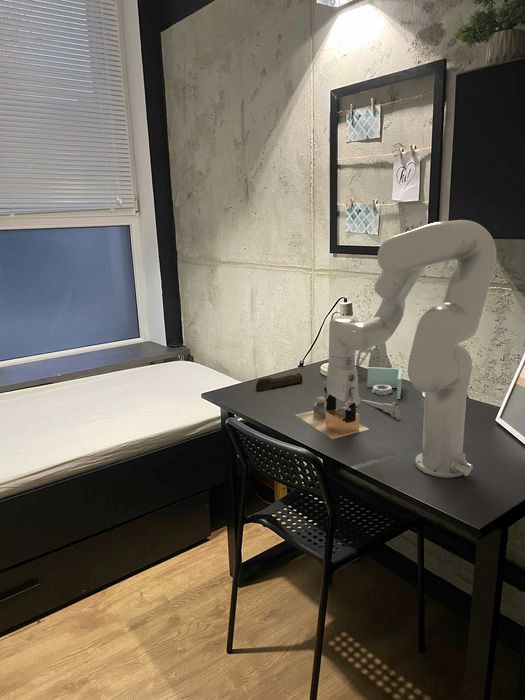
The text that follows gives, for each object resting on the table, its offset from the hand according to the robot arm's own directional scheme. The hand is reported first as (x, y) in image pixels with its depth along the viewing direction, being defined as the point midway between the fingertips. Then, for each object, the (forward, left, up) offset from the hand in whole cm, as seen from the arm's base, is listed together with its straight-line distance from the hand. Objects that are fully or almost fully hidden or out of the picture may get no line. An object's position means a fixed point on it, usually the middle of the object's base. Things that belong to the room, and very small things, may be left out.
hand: (340, 415), depth 151 cm
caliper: (+6, -19, -5) cm, 21 cm away
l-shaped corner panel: (+19, -32, -5) cm, 38 cm away
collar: (-1, 0, -4) cm, 4 cm away
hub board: (+5, 0, -5) cm, 7 cm away
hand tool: (+45, -4, -5) cm, 45 cm away
